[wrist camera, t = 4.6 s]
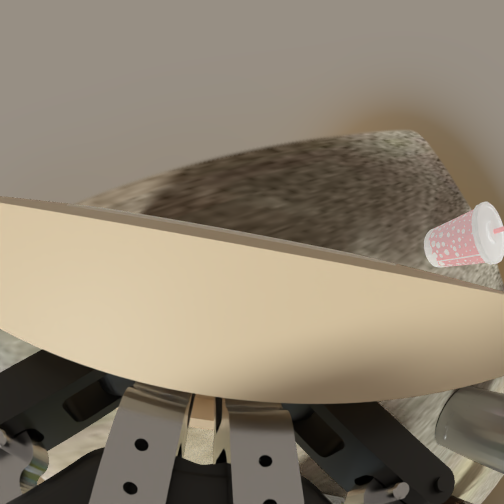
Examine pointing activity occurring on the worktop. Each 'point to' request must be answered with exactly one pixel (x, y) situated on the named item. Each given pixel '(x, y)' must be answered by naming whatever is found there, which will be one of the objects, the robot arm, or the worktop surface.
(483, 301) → the lid
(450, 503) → the coffee mug
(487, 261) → the beverage cup
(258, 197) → the worktop surface
